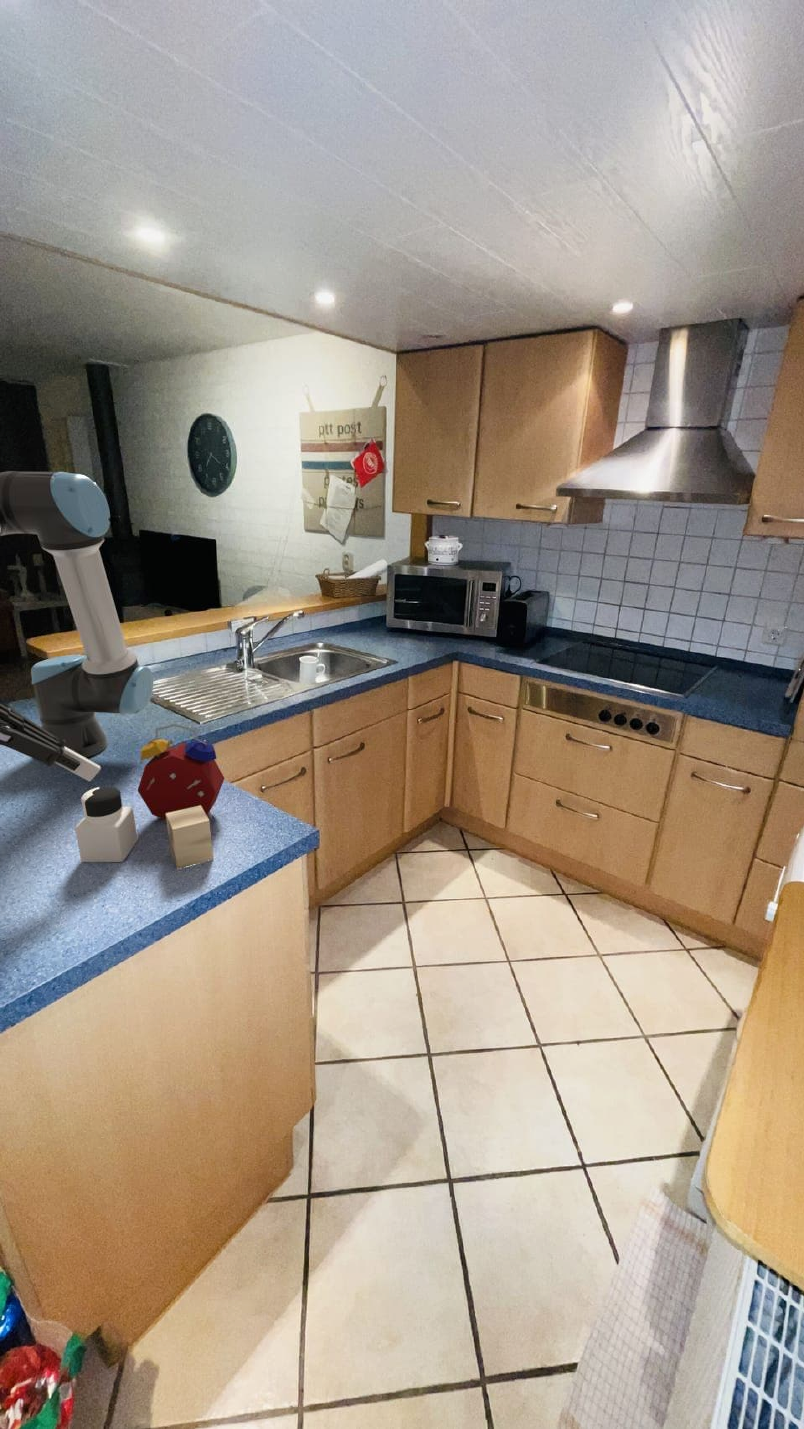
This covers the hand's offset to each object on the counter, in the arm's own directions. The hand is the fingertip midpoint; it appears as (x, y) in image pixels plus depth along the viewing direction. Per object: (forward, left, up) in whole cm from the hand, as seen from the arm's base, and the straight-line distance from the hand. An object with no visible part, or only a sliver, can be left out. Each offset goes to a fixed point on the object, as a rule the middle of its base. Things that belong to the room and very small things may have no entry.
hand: (94, 773), depth 99 cm
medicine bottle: (0, 0, -16) cm, 16 cm away
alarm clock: (-8, +12, -16) cm, 22 cm away
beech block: (+5, +14, -16) cm, 22 cm away
